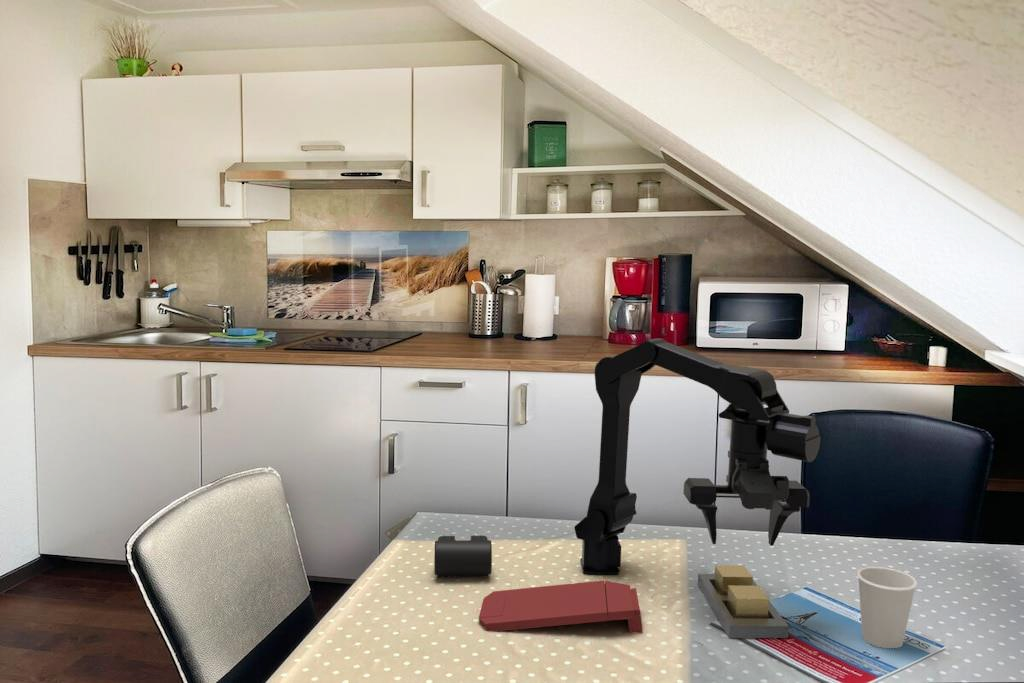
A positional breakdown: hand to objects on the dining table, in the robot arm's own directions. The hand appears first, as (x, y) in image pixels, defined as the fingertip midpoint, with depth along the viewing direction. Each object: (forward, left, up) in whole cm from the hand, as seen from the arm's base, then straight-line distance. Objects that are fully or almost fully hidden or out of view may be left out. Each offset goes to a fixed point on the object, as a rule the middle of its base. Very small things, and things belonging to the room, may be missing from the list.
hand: (742, 544), depth 132 cm
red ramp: (-29, -2, -13) cm, 32 cm away
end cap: (-45, +15, -12) cm, 49 cm away
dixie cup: (+20, -8, -12) cm, 24 cm away
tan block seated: (+1, +6, -12) cm, 13 cm away
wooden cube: (+1, -3, -12) cm, 12 cm away
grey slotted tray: (+1, +2, -12) cm, 12 cm away
